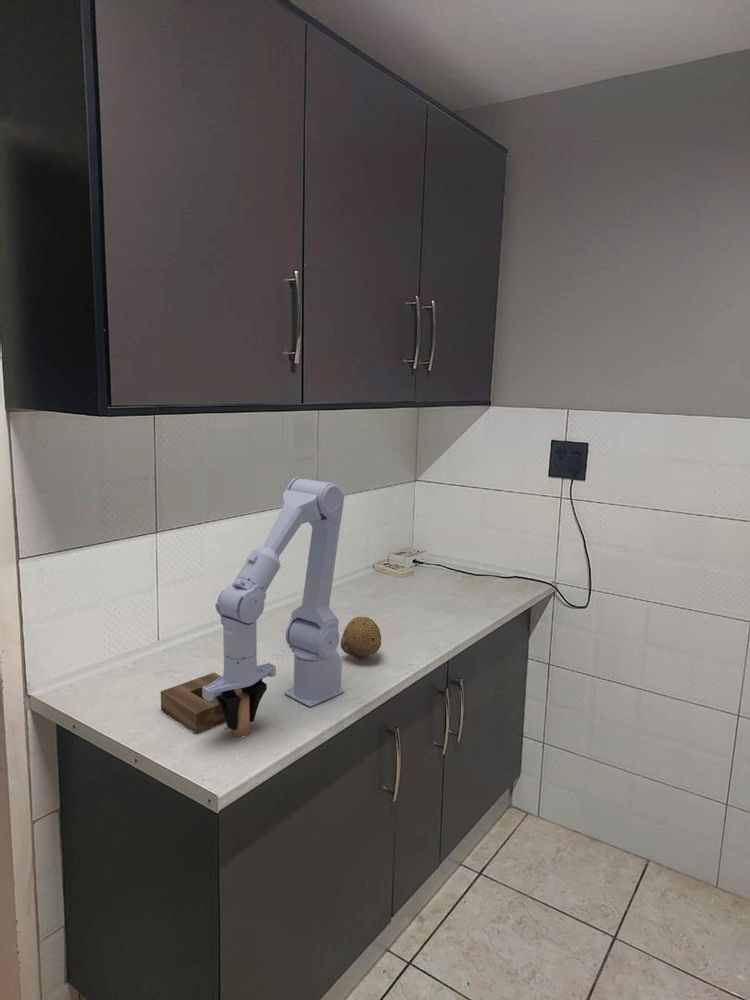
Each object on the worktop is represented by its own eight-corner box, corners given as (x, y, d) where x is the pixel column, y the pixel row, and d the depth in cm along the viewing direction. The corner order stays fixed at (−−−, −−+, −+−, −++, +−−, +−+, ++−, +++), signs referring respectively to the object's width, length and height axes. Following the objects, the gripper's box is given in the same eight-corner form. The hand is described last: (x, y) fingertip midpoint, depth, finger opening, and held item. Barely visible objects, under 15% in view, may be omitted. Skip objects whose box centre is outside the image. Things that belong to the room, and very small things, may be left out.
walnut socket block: (214, 690, 139) (214, 672, 138) (250, 711, 131) (250, 692, 130) (161, 710, 130) (160, 691, 130) (196, 734, 123) (196, 713, 122)
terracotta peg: (242, 726, 126) (242, 690, 124) (253, 732, 124) (253, 696, 122) (228, 732, 123) (227, 696, 122) (238, 739, 121) (238, 702, 120)
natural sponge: (389, 661, 156) (391, 619, 154) (359, 671, 150) (361, 628, 148) (364, 648, 163) (365, 608, 161) (334, 657, 157) (335, 616, 155)
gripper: (259, 635, 129) (259, 702, 131) (191, 657, 118) (193, 730, 121) (283, 646, 124) (282, 715, 126) (215, 670, 113) (216, 745, 116)
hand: (240, 723), depth 123 cm, fingers closed on terracotta peg, 3 cm apart
